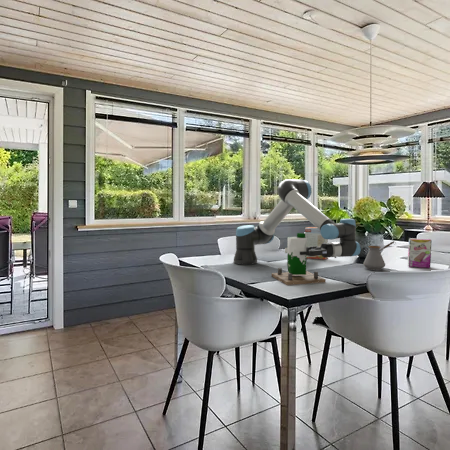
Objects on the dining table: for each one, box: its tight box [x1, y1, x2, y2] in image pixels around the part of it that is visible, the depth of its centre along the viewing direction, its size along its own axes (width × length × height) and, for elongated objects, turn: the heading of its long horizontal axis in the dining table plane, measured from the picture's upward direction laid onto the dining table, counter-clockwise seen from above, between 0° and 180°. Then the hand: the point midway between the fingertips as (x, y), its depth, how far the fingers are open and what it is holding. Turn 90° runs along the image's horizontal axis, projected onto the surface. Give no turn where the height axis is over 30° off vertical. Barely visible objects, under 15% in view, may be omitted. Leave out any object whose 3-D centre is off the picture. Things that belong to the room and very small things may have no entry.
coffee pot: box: [362, 241, 397, 271], centre depth 202 cm, size 21×12×15 cm, turn 113°
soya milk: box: [286, 232, 307, 275], centre depth 177 cm, size 9×9×20 cm
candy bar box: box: [407, 237, 432, 269], centre depth 204 cm, size 11×5×16 cm, turn 71°
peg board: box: [271, 267, 327, 286], centre depth 177 cm, size 20×20×4 cm
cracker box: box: [304, 226, 329, 260], centre depth 238 cm, size 14×6×21 cm, turn 58°
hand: (288, 251), depth 176 cm, fingers closed on soya milk, 9 cm apart
